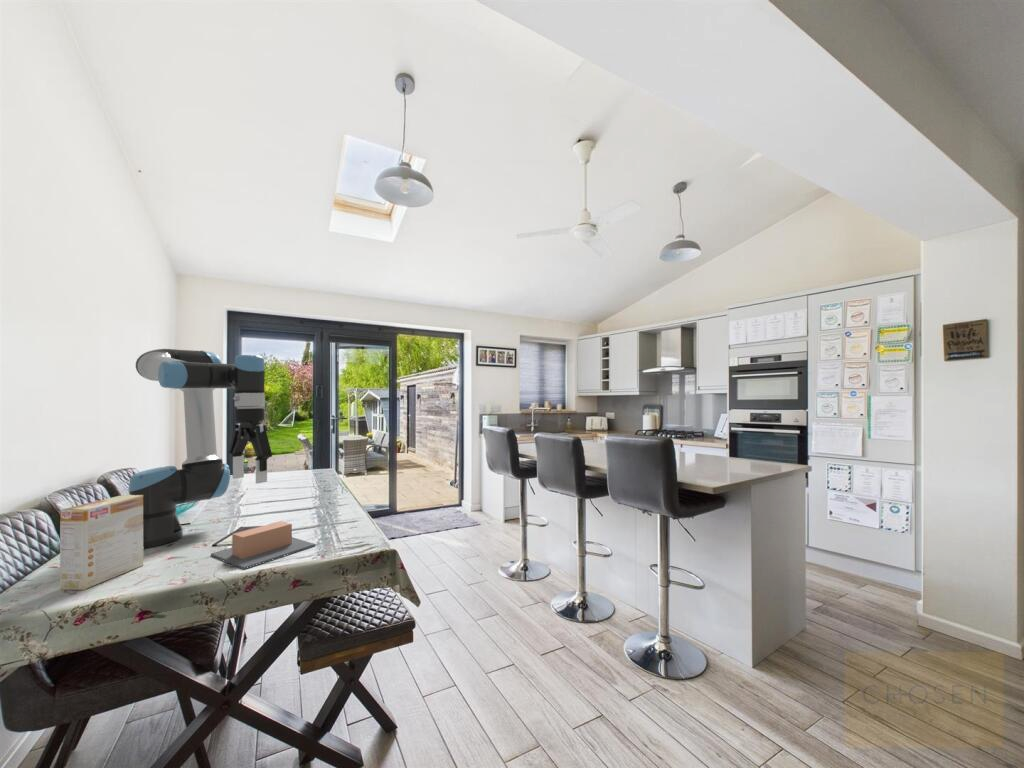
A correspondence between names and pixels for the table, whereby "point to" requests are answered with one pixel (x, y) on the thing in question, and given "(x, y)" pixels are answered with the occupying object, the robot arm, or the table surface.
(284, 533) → the wooden block
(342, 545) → the table surface
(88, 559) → the coffeecake box
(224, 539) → the chocolate bar
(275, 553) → the rubber mat
